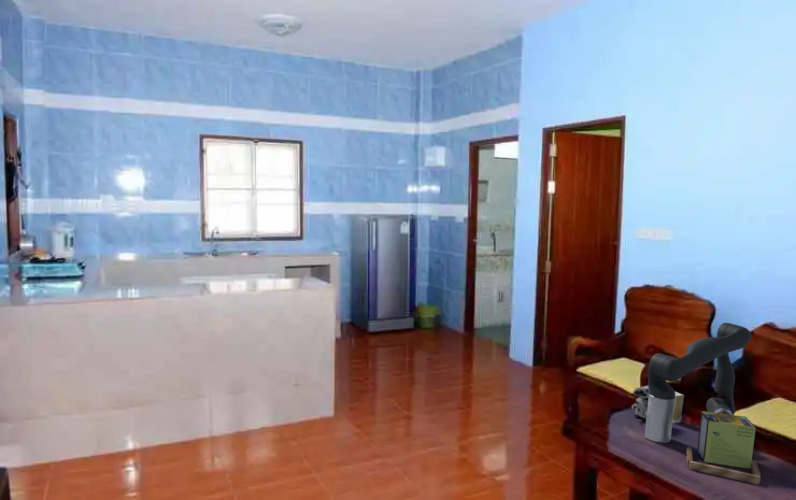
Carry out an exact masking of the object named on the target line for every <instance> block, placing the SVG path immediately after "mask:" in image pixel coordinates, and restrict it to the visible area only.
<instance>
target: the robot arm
mask: <svg viewBox="0 0 796 500" xmlns="http://www.w3.org/2000/svg"><path fill="white" fill-rule="evenodd" d="M751 340H752V334H751V331H750V330H749V329H748V328H747V327H745V326H742V325H738V324H734V323H730V322H723V323H722V324H720V325H719V326H718V329H717V333H716V336H712V337H711V336H710V337H704V338H699V339H697V340H696V341H694V342H691V343H690V344H689V345H688V346H687V347H686V350H685V353H684V354H685V355H682V356H680V357H673V356H669V355H667V354H663V353H655V354H653V355H652V356H651V358H650V361H649V364H648V373H647V374H648V378H647V379H648V380H647V381H648V382H647V386H648V387H649V399H648V409H647V418H645V419H646V421H645V430H644V438H645V439H647V440H649V441H652V442H655V443H662V444H668V443H670V442H671V440H672V439H671V437H672V427H673V423H672V420H673V411H674V401H675V392H676V391H675V390H674V388H673V387H672V386H671V385H670V384H669V383H668V382H670V383H671V382H676V381H678V380H681V378H684V377H685V376H686V375H687V374H689V373H690V372H693V371H695V369H697V368H699V367H701V366H704V365H705V364H708V363H710V362H712V361H714V360H716V372H715V373H716V374H715V380H714V389H713V390H714V392H715V393H716V394H718V395H721V396H723V397H725V398H726V399H723V398H720V397H719V398H718V397H710V398H709V399H708V400H707V401H706V404H705V405H706V410H707V412H713V413H721V414H729V415H735V413H736V407H735V401H734V388H735V382H736V374H735V370H734V368H733V364H732V362H731V359H730V355H729V353H732V352H736V351H737V350H741V349H743V348H746V346H747V345H748V344H749V343H750V341H751Z"/></svg>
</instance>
